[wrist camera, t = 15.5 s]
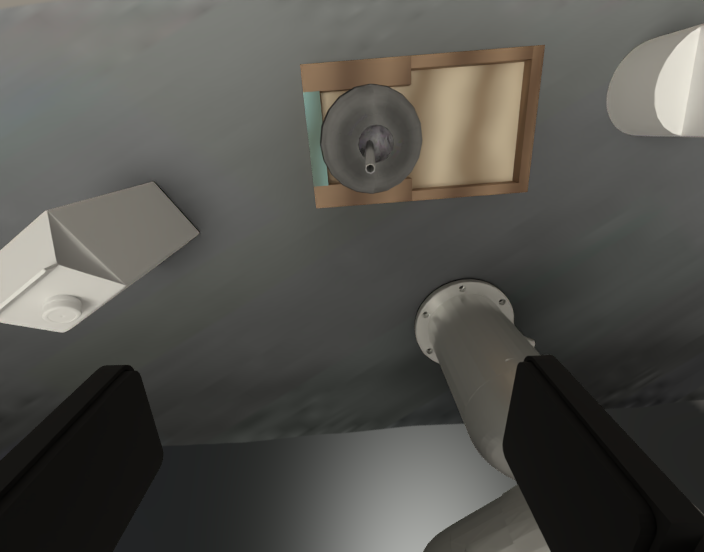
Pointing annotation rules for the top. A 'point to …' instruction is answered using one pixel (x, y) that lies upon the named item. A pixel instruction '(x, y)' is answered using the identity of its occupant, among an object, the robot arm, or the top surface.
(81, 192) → the top surface
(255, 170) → the top surface
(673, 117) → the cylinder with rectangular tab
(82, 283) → the milk carton
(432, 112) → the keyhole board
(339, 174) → the beverage cup
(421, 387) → the top surface
